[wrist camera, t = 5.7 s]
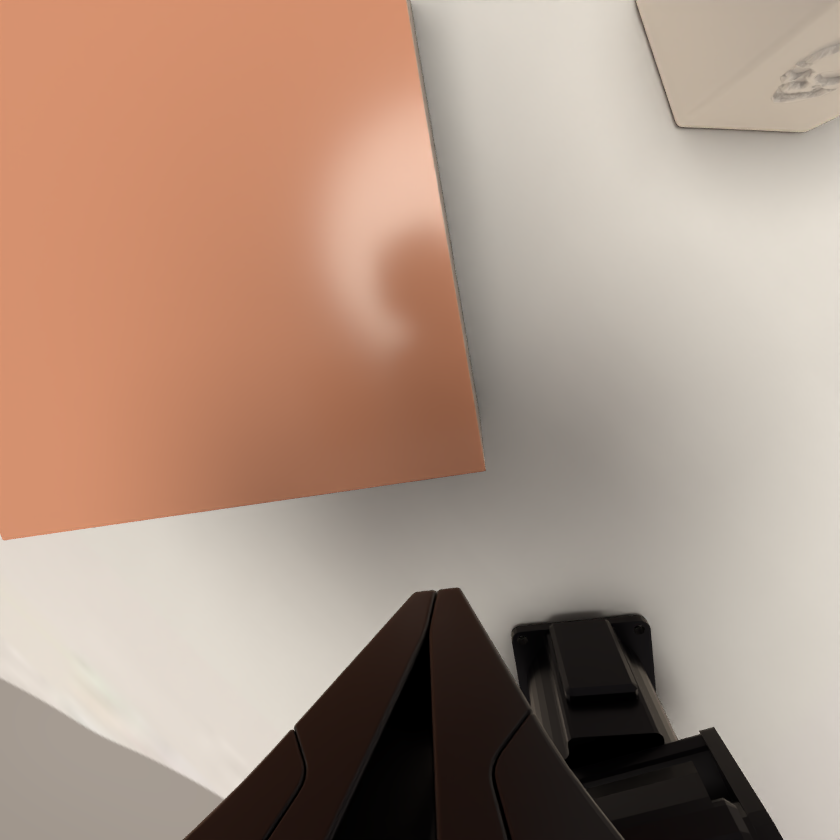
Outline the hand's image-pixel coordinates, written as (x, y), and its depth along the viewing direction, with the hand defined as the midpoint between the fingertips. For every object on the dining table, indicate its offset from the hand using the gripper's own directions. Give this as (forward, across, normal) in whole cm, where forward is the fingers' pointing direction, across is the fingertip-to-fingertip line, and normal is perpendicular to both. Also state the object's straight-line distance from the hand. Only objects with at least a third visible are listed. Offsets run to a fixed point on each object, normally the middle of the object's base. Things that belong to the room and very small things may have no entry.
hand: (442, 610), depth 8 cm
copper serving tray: (+8, +8, -8) cm, 14 cm away
